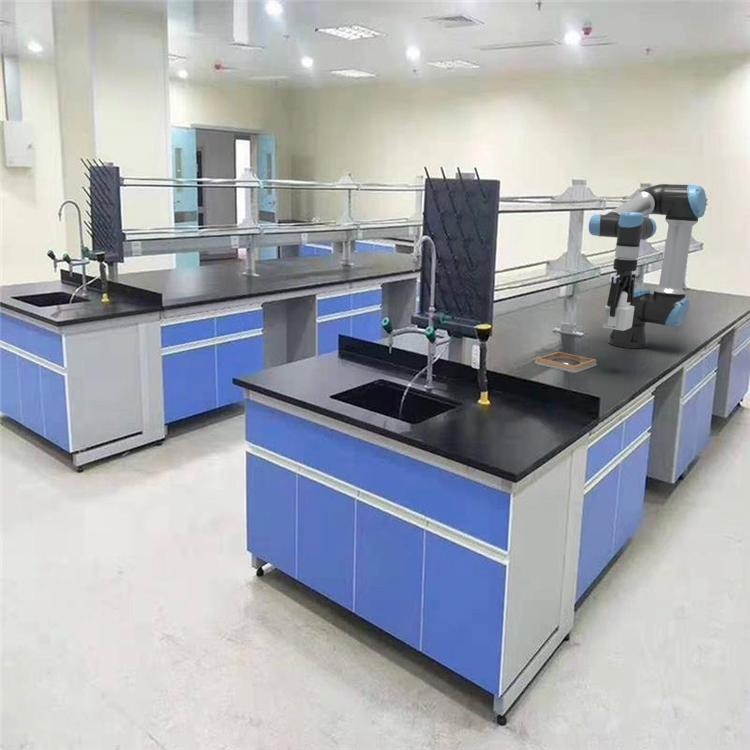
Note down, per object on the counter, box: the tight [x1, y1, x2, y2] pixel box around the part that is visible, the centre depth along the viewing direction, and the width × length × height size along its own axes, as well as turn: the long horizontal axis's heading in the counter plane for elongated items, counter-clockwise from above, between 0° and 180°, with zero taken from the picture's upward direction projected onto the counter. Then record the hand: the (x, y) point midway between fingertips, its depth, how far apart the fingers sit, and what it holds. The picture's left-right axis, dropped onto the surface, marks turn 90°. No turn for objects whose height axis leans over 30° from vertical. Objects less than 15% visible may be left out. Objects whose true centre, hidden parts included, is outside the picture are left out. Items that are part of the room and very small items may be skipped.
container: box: [602, 290, 634, 331], centre depth 243 cm, size 8×8×13 cm
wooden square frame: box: [534, 351, 597, 374], centre depth 255 cm, size 16×16×2 cm
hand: (617, 324), depth 245 cm, fingers closed on container, 8 cm apart
